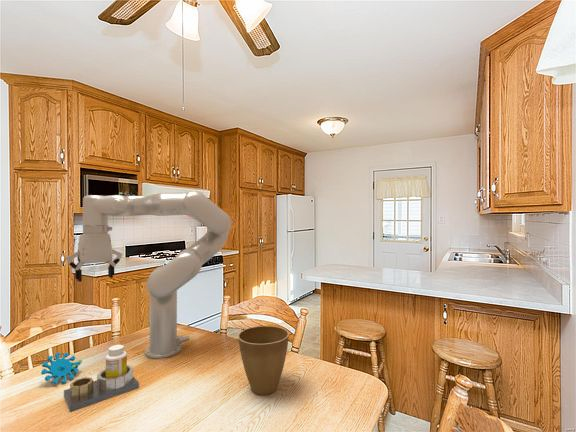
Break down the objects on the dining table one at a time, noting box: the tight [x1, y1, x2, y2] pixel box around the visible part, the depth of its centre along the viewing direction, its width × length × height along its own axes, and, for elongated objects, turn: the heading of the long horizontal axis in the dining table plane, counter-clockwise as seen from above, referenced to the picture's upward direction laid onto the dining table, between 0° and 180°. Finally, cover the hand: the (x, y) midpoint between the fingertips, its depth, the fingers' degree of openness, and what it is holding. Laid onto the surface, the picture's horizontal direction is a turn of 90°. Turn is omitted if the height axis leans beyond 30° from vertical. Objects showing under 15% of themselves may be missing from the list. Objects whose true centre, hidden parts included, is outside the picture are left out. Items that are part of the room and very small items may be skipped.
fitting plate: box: [63, 364, 140, 413], centre depth 92 cm, size 17×10×4 cm, turn 132°
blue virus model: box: [40, 352, 83, 385], centre depth 100 cm, size 11×6×10 cm
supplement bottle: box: [105, 344, 128, 379], centre depth 95 cm, size 6×6×10 cm
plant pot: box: [237, 325, 290, 396], centre depth 94 cm, size 15×15×16 cm
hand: (95, 279), depth 113 cm, fingers open, 9 cm apart
